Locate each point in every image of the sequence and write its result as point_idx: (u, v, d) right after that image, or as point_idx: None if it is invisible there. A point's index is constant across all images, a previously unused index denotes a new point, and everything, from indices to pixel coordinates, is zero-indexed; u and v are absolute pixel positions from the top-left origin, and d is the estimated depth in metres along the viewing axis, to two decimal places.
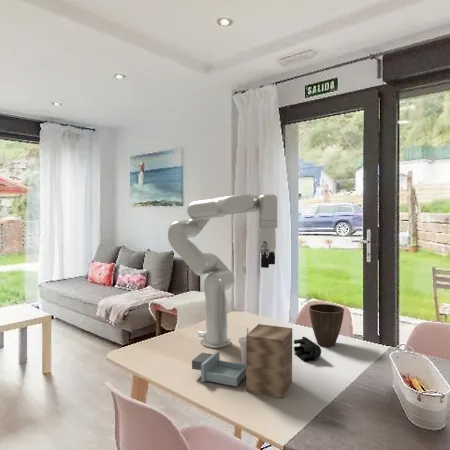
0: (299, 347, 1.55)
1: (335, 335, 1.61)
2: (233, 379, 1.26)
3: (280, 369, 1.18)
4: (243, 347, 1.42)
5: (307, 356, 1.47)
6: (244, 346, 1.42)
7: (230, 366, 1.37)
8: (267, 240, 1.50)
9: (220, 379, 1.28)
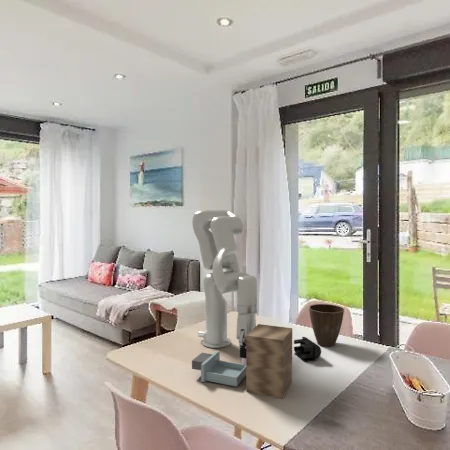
0: (299, 347, 1.55)
1: (335, 335, 1.61)
2: (233, 379, 1.26)
3: (280, 369, 1.18)
4: None
5: (307, 356, 1.47)
6: None
7: (230, 366, 1.37)
8: (245, 328, 1.39)
9: (220, 379, 1.28)
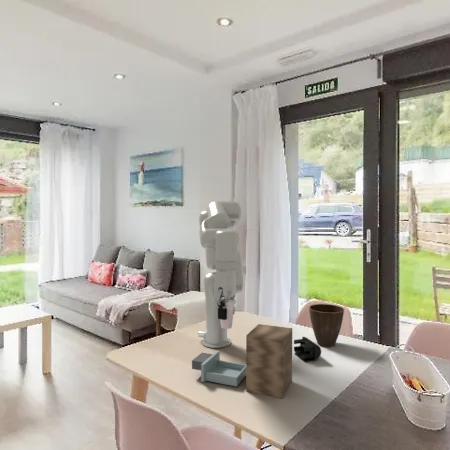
0: (299, 347, 1.55)
1: (335, 335, 1.61)
2: (233, 379, 1.26)
3: (280, 369, 1.18)
4: None
5: (307, 356, 1.47)
6: None
7: (230, 366, 1.37)
8: (223, 286, 1.26)
9: (220, 379, 1.28)
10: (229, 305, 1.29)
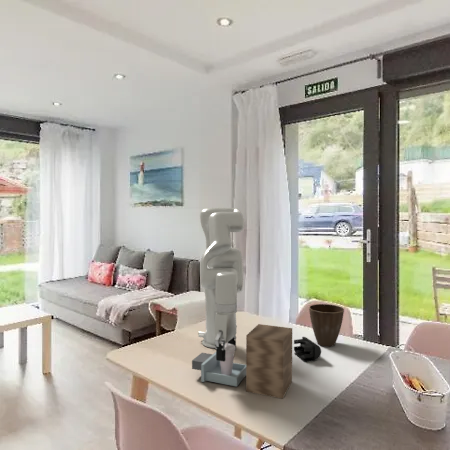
0: (299, 347, 1.55)
1: (335, 335, 1.61)
2: (233, 379, 1.26)
3: (280, 369, 1.18)
4: None
5: (307, 356, 1.47)
6: None
7: None
8: (223, 329, 1.27)
9: (220, 379, 1.28)
10: (229, 353, 1.30)
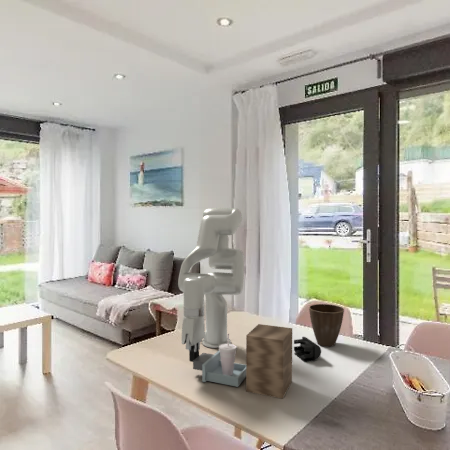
0: (299, 347, 1.55)
1: (335, 335, 1.61)
2: (234, 379, 1.26)
3: (280, 369, 1.18)
4: (223, 355, 1.30)
5: (307, 356, 1.47)
6: (224, 354, 1.30)
7: None
8: (190, 332, 1.32)
9: (221, 379, 1.27)
10: (230, 353, 1.30)
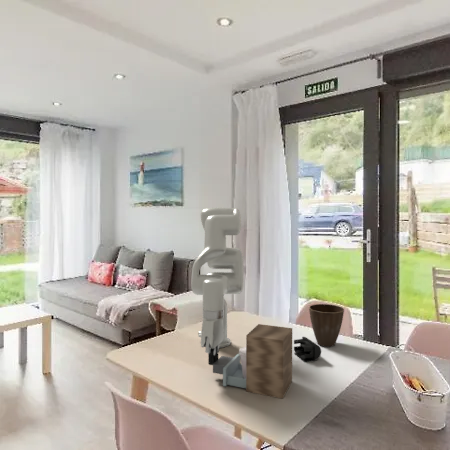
0: (299, 347, 1.55)
1: (335, 335, 1.61)
2: None
3: (280, 369, 1.18)
4: (244, 359, 1.27)
5: (307, 356, 1.47)
6: (245, 357, 1.27)
7: None
8: (210, 335, 1.29)
9: (243, 383, 1.24)
10: None
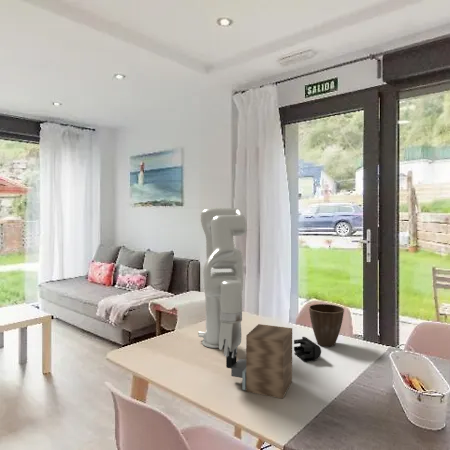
0: (299, 347, 1.55)
1: (335, 335, 1.61)
2: None
3: (280, 369, 1.18)
4: None
5: (307, 356, 1.47)
6: None
7: None
8: (228, 338, 1.26)
9: None
10: None
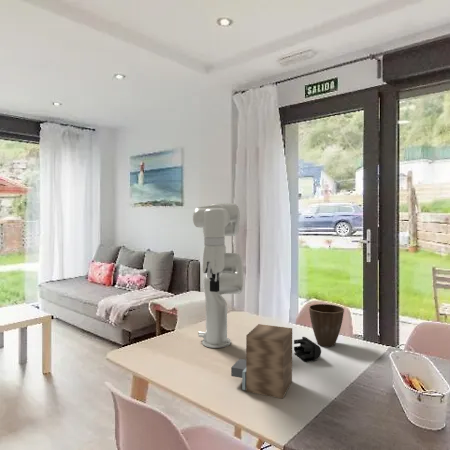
0: (299, 347, 1.55)
1: (335, 335, 1.61)
2: None
3: (280, 369, 1.18)
4: None
5: (307, 356, 1.47)
6: None
7: None
8: (211, 260, 1.34)
9: None
10: None
